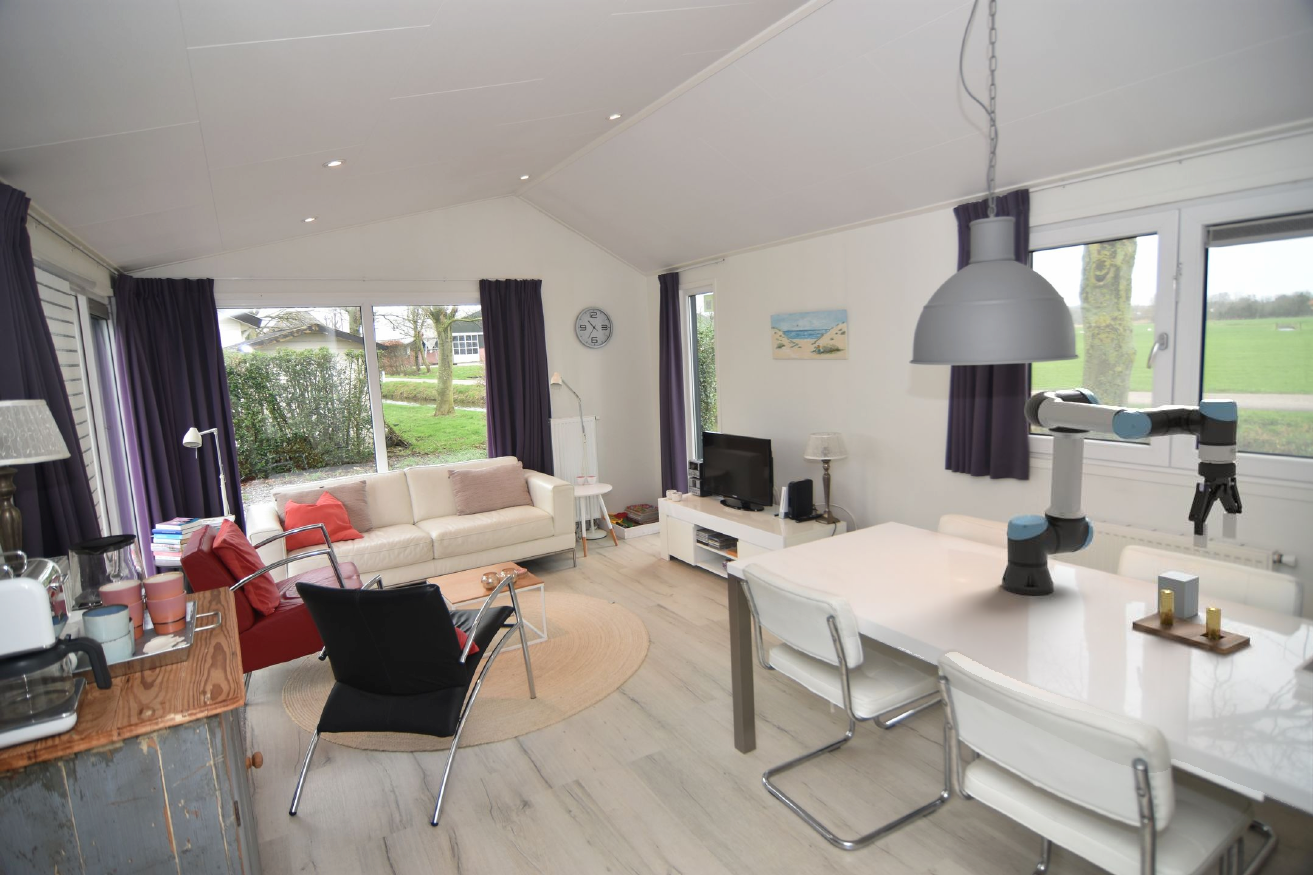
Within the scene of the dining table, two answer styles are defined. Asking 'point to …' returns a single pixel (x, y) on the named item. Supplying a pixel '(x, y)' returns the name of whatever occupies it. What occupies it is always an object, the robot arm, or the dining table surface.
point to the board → (1191, 634)
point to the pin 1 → (1166, 607)
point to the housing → (1181, 592)
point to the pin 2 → (1213, 623)
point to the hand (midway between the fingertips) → (1215, 542)
